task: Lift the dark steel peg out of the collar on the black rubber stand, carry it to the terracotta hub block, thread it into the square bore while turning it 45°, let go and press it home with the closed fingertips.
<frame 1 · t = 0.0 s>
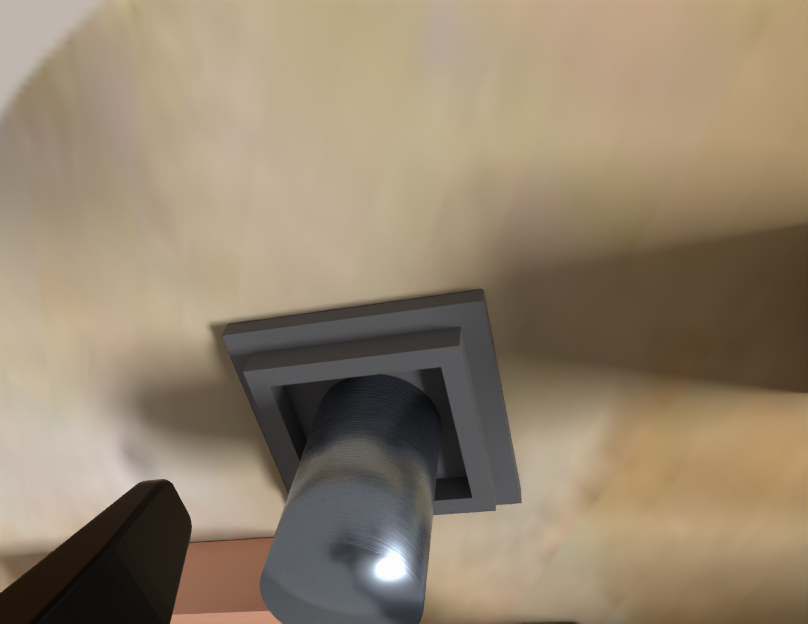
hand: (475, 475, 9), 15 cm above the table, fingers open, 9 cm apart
steel peg: (379, 423, 27), point 1 cm above the table, touching stand
stand: (381, 410, 28), on the table
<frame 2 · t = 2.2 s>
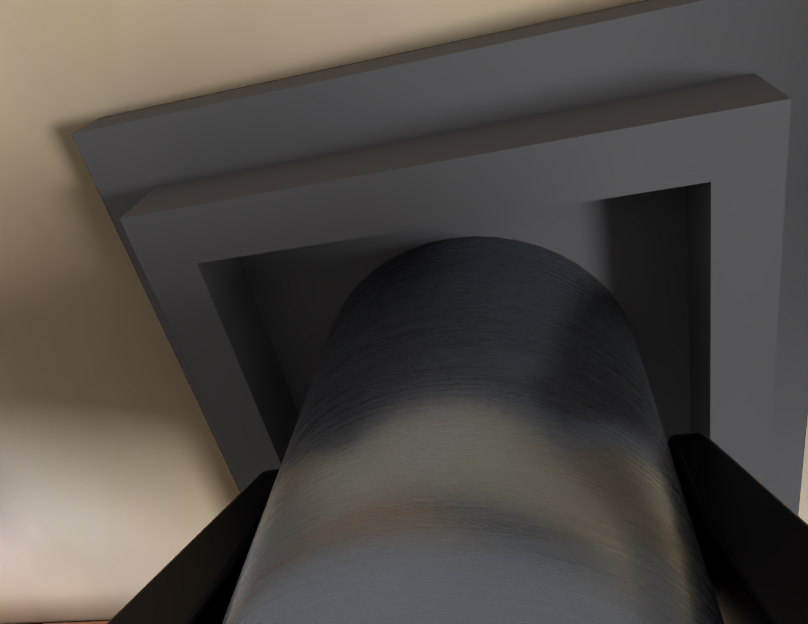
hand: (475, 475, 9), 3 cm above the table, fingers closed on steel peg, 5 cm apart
steel peg: (478, 376, 11), point 1 cm above the table, touching gripper, stand
stand: (479, 348, 12), on the table
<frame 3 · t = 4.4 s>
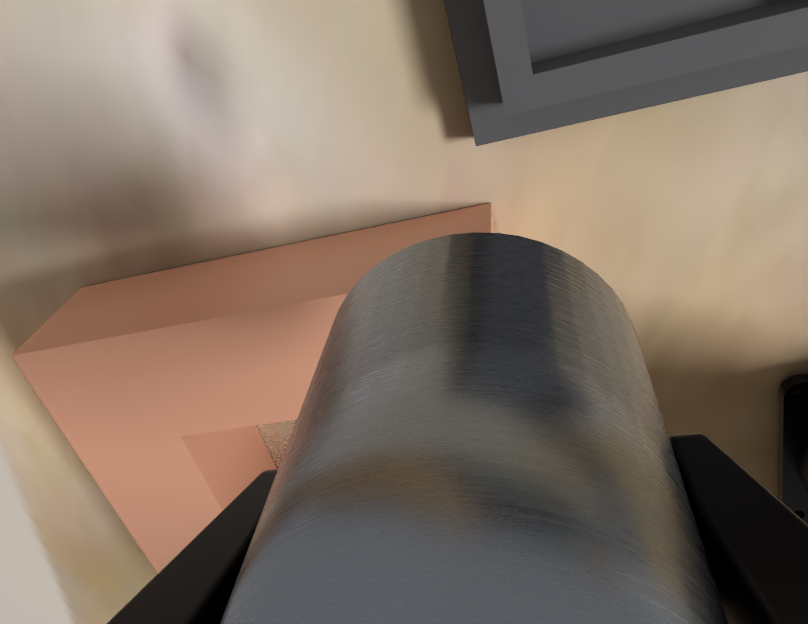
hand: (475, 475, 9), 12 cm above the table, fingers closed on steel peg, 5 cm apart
steel peg: (479, 373, 11), point 10 cm above the table, touching gripper
hub block: (338, 417, 25), on the table
when the fingers open (5 cm above the table, at t = 6.8 s): steel peg drops 2 cm, resting in hub block.
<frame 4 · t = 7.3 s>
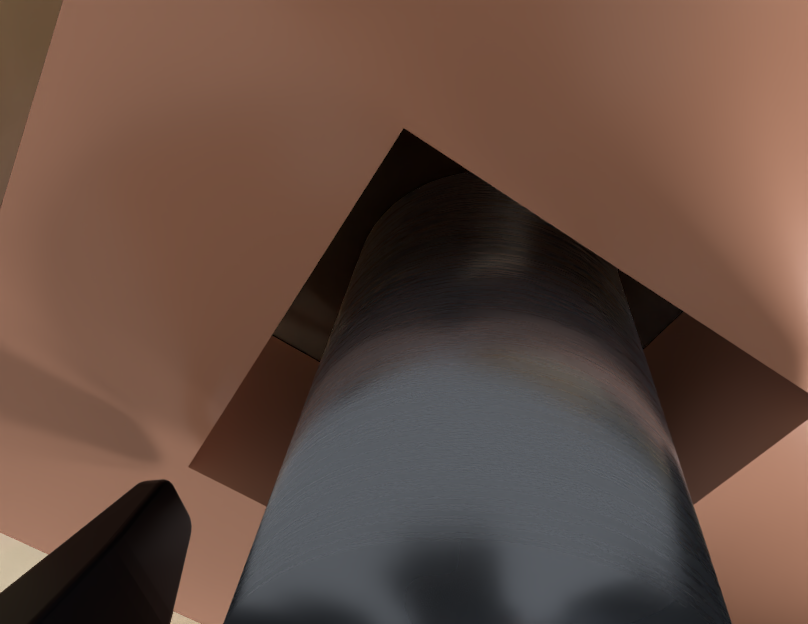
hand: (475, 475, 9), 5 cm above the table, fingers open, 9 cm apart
steel peg: (483, 295, 13), resting in hub block
hub block: (480, 298, 13), on the table
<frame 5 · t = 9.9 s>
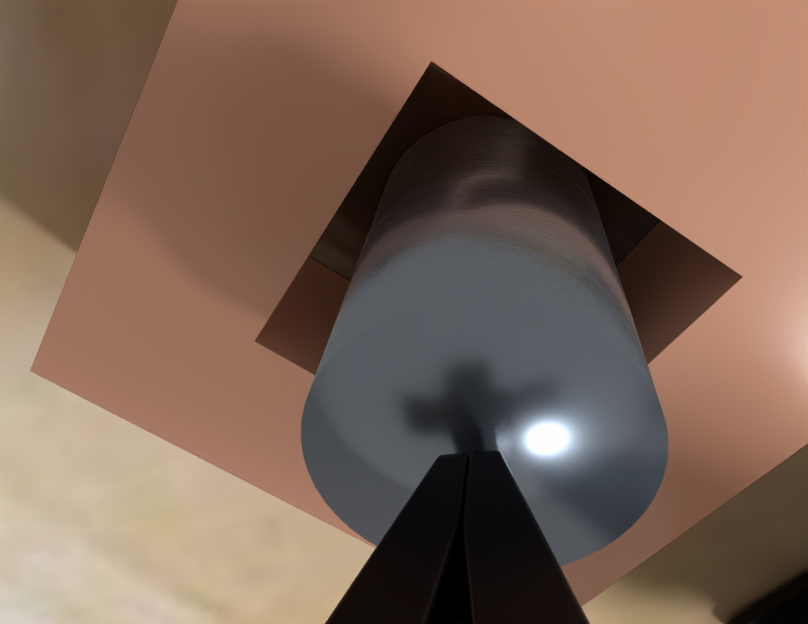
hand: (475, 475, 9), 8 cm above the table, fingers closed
steel peg: (485, 221, 16), resting in hub block
hub block: (483, 223, 16), on the table
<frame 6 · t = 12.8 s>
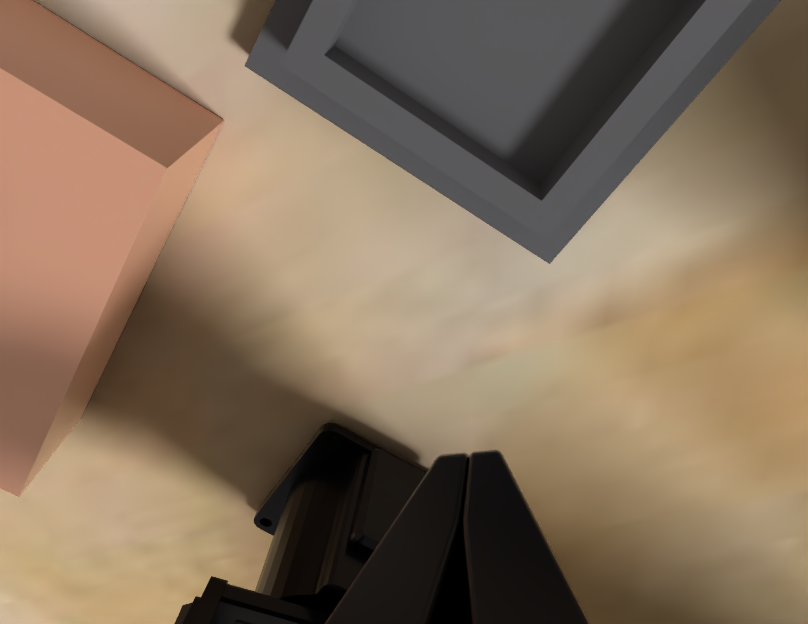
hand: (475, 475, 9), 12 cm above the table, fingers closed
stand: (514, 0, 17), on the table
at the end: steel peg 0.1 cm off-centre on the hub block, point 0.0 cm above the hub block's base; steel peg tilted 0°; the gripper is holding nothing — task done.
